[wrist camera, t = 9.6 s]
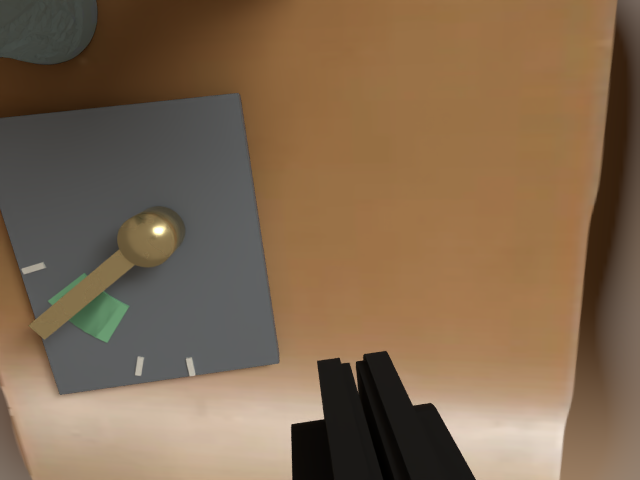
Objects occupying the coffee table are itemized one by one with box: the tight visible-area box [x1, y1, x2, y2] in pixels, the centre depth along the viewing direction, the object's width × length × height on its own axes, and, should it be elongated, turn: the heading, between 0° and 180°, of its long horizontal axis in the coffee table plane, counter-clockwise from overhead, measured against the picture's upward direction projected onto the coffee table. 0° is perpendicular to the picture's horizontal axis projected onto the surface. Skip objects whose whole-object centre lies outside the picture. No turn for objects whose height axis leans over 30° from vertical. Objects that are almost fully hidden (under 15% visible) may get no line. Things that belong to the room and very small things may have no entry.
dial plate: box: [0, 93, 279, 395], centre depth 35 cm, size 24×20×2 cm
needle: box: [28, 206, 185, 340], centre depth 32 cm, size 14×4×4 cm, turn 128°
